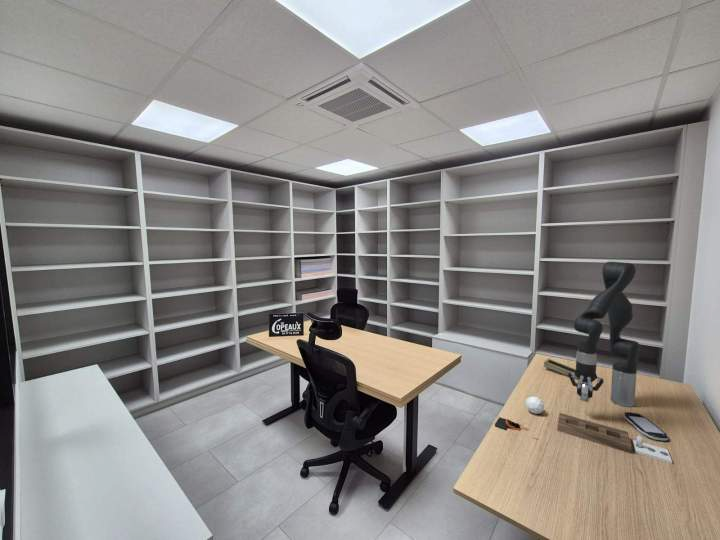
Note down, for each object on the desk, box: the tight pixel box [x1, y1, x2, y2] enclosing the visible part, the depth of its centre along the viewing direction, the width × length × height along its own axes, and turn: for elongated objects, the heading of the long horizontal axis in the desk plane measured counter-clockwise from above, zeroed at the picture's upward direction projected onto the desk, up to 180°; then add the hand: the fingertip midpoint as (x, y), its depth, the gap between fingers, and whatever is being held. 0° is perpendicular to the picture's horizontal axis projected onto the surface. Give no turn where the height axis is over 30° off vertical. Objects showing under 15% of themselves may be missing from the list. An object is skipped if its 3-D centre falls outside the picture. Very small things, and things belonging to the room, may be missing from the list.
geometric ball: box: [525, 395, 545, 415], centre depth 145 cm, size 8×8×8 cm
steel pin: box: [579, 382, 590, 402], centre depth 139 cm, size 3×3×8 cm
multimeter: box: [494, 416, 538, 440], centre depth 132 cm, size 18×12×3 cm, turn 47°
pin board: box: [557, 412, 632, 454], centre depth 128 cm, size 11×24×3 cm, turn 53°
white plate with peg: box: [632, 435, 673, 465], centre depth 116 cm, size 8×10×5 cm
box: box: [543, 358, 579, 380], centre depth 187 cm, size 8×22×5 cm, turn 44°
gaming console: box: [622, 411, 670, 442], centre depth 132 cm, size 19×9×2 cm, turn 166°
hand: (584, 396), depth 139 cm, fingers closed on steel pin, 3 cm apart
